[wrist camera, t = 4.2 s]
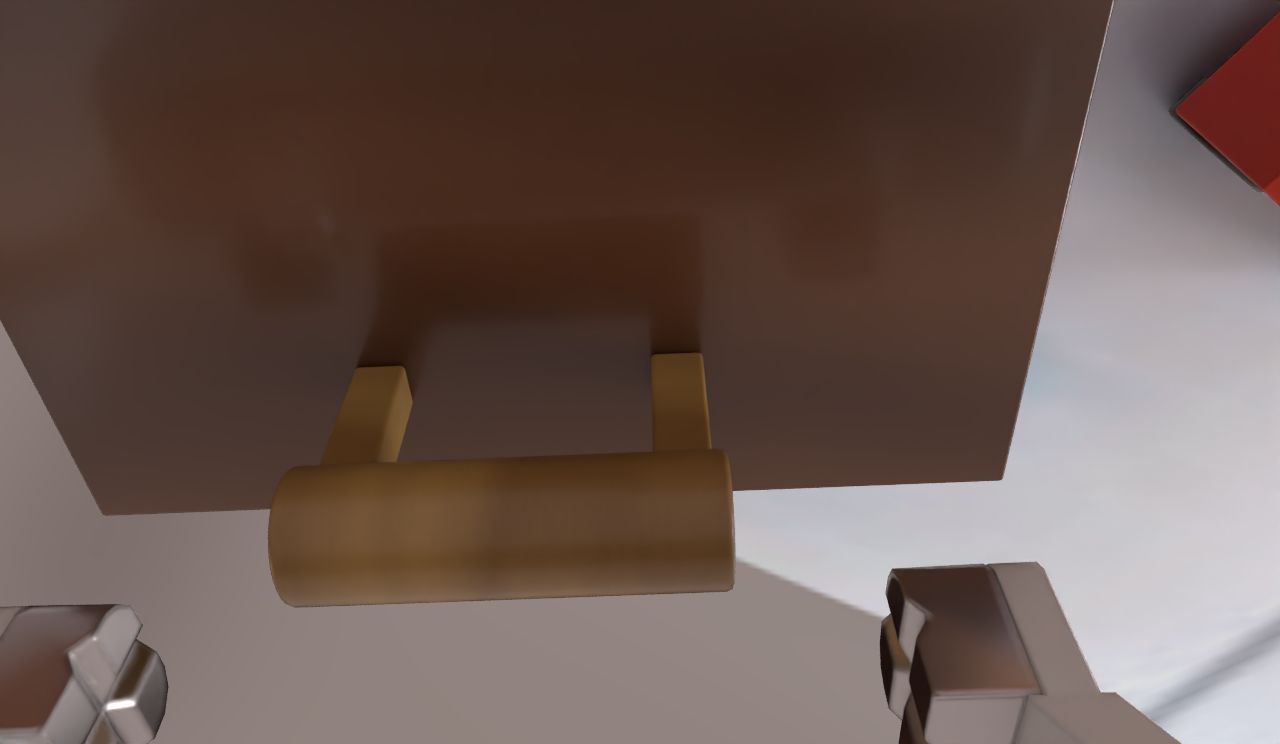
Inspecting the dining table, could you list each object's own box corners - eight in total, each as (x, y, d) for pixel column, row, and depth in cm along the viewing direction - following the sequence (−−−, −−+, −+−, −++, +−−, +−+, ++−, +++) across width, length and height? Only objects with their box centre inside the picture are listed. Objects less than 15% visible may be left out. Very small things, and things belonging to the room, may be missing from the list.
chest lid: (987, 446, 15) (1093, 689, 12) (123, 481, 16) (-24, 727, 12) (1327, -1120, 7) (2070, -1917, 3) (-595, -978, 7) (-1787, -1555, 4)
